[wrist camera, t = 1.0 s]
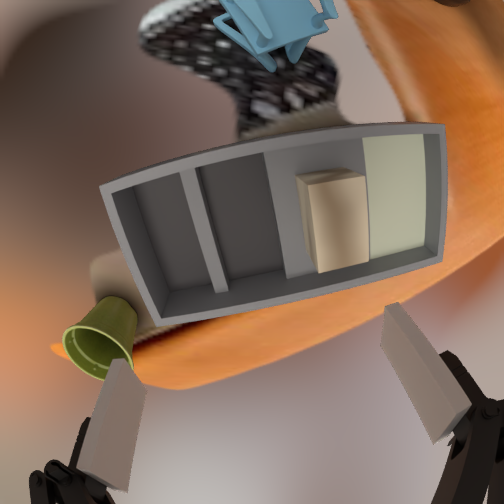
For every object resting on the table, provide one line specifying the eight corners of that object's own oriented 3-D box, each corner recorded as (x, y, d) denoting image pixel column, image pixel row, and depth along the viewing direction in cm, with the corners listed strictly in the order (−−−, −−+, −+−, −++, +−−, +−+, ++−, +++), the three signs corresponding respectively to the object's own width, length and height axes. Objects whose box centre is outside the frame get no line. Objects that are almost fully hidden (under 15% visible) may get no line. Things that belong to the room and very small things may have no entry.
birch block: (343, 166, 25) (365, 176, 21) (349, 240, 28) (368, 261, 24) (294, 175, 25) (307, 185, 21) (306, 249, 29) (318, 273, 24)
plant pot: (85, 277, 31) (55, 316, 24) (150, 293, 33) (131, 339, 25) (91, 329, 35) (70, 369, 27) (148, 344, 37) (135, 390, 29)
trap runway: (415, 121, 25) (444, 124, 20) (419, 243, 32) (442, 261, 27) (121, 175, 26) (98, 186, 21) (165, 298, 33) (156, 326, 28)
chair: (250, 82, 23) (262, 51, 13) (212, 22, 20) (200, -35, 9) (317, 55, 22) (367, 19, 11) (278, -3, 19) (303, -62, 8)
